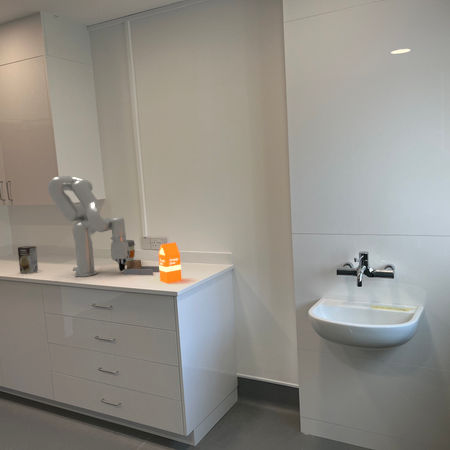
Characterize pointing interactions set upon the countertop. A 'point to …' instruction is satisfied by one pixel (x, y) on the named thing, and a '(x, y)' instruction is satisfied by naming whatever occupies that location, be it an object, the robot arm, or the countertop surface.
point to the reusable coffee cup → (131, 249)
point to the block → (134, 264)
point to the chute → (142, 270)
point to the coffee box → (28, 259)
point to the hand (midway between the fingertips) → (122, 270)
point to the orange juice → (169, 263)
